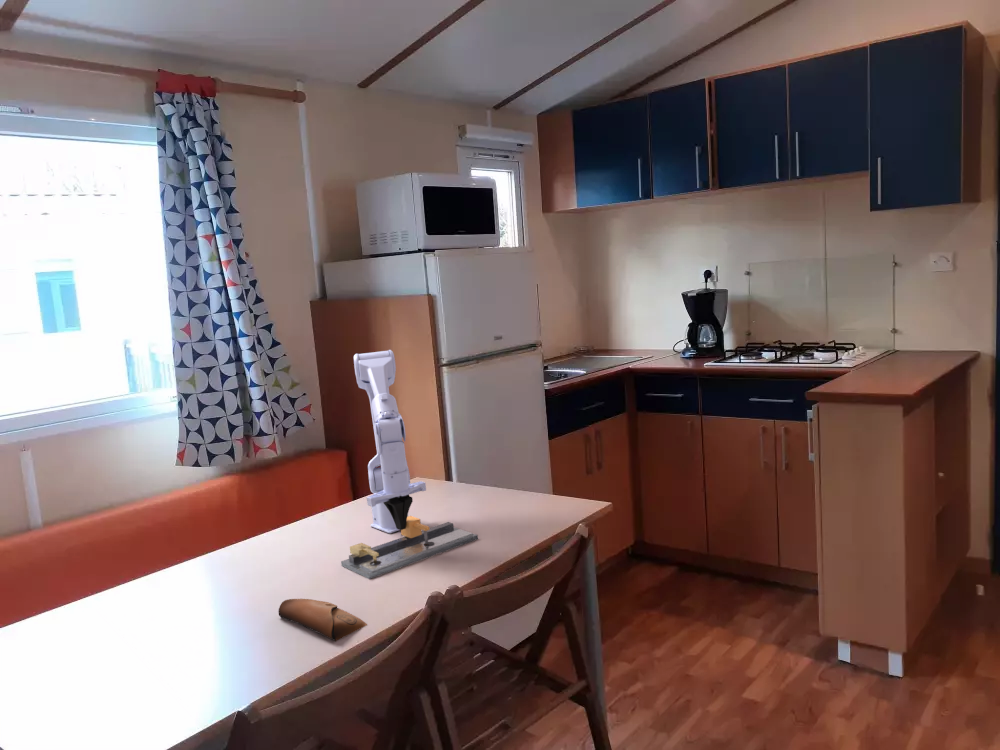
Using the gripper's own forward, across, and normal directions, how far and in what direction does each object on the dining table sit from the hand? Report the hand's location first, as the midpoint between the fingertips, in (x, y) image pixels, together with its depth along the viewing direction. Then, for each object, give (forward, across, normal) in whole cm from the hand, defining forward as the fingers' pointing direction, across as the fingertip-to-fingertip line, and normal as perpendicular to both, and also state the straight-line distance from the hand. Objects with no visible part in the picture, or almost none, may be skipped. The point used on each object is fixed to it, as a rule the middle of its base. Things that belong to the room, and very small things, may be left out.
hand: (401, 528), depth 182 cm
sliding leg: (+3, +3, -3) cm, 5 cm away
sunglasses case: (+6, -30, -20) cm, 37 cm away
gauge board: (+5, 0, -3) cm, 6 cm away
